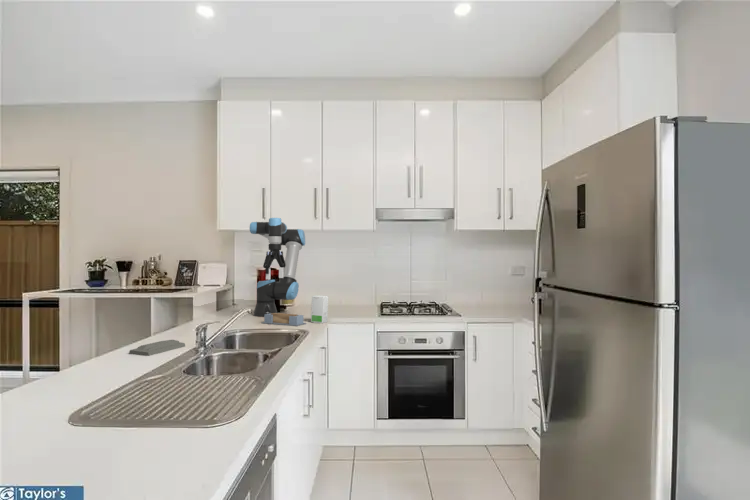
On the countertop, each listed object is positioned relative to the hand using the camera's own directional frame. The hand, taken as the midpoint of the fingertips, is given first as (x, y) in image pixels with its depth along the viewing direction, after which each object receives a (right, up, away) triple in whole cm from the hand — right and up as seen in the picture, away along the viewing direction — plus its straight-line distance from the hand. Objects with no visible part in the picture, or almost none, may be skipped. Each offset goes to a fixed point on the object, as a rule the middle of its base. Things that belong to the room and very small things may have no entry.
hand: (274, 278), depth 270 cm
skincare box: (+27, -26, -4) cm, 38 cm away
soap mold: (-27, -24, -88) cm, 95 cm away
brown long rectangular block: (+8, -25, -12) cm, 28 cm away
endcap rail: (+8, -25, -12) cm, 29 cm away
